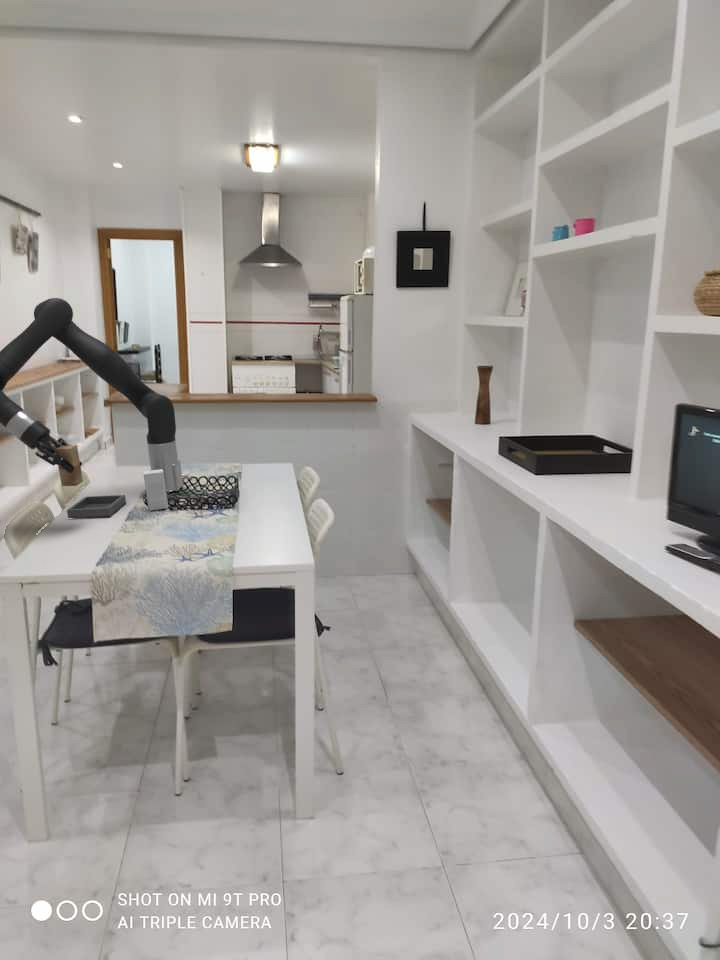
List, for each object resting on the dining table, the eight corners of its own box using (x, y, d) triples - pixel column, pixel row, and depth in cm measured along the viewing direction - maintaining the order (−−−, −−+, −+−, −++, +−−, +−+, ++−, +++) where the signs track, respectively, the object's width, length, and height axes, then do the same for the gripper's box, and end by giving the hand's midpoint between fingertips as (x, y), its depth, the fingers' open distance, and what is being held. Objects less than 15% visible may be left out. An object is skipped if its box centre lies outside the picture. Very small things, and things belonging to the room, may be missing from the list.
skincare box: (167, 504, 224) (163, 468, 221) (168, 508, 220) (163, 471, 217) (148, 507, 222) (143, 471, 219) (148, 511, 218) (143, 474, 215)
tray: (126, 503, 228) (125, 494, 227) (110, 517, 214) (108, 508, 213) (87, 505, 228) (85, 496, 227) (68, 519, 215) (66, 509, 214)
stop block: (83, 481, 206) (76, 445, 203) (76, 485, 202) (70, 448, 199) (68, 482, 206) (62, 445, 203) (61, 486, 202) (55, 449, 199)
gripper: (23, 424, 193) (73, 465, 195) (47, 415, 206) (94, 453, 209) (8, 444, 194) (58, 484, 197) (33, 433, 208) (79, 471, 211)
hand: (76, 468), depth 203 cm, fingers closed on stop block, 4 cm apart
